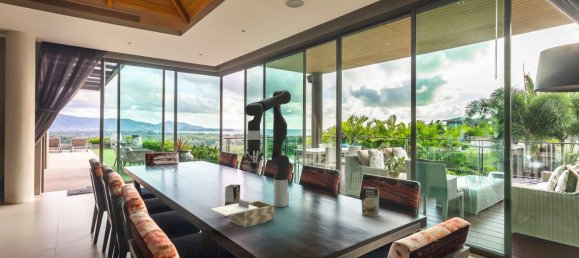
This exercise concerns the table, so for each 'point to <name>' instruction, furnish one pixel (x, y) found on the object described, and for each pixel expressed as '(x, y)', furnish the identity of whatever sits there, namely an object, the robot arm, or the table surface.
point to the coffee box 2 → (370, 201)
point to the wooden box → (254, 215)
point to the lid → (234, 208)
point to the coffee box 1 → (232, 194)
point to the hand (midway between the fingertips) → (253, 169)
